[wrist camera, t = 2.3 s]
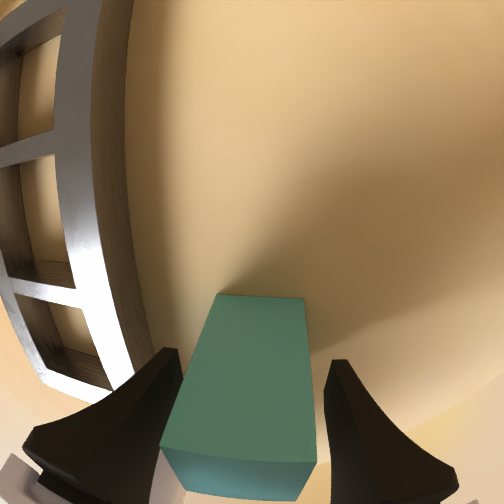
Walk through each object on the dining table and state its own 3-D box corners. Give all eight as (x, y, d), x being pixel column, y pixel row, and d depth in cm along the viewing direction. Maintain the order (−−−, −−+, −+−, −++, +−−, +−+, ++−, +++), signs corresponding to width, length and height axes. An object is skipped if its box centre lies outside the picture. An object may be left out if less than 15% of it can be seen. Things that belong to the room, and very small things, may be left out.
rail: (165, 393, 16) (154, 421, 14) (57, 362, 17) (41, 382, 15) (138, -26, 7) (115, -47, 5) (11, 37, 8) (-15, 33, 6)
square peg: (294, 361, 14) (295, 501, 7) (220, 356, 15) (185, 490, 7) (303, 298, 13) (317, 461, 5) (216, 294, 13) (159, 445, 6)
